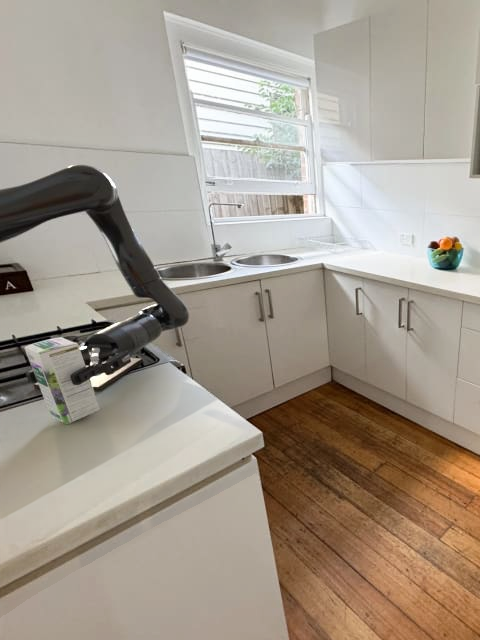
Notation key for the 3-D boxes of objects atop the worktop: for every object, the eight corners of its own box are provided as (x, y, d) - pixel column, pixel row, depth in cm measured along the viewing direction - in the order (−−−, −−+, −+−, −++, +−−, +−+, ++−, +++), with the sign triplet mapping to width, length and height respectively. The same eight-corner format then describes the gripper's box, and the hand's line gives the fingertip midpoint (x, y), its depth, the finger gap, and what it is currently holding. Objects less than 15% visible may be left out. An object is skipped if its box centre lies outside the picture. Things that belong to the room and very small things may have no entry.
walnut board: (34, 388, 81) (33, 384, 81) (87, 359, 94) (86, 356, 94) (99, 391, 81) (98, 387, 81) (143, 361, 94) (142, 358, 94)
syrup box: (49, 416, 71) (20, 346, 65) (86, 401, 76) (61, 335, 70) (66, 425, 69) (37, 354, 63) (102, 409, 74) (78, 341, 68)
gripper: (80, 324, 81) (2, 359, 66) (147, 327, 81) (85, 362, 66) (91, 356, 84) (19, 396, 69) (156, 359, 84) (98, 399, 69)
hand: (51, 379), depth 67 cm, fingers closed on syrup box, 7 cm apart
